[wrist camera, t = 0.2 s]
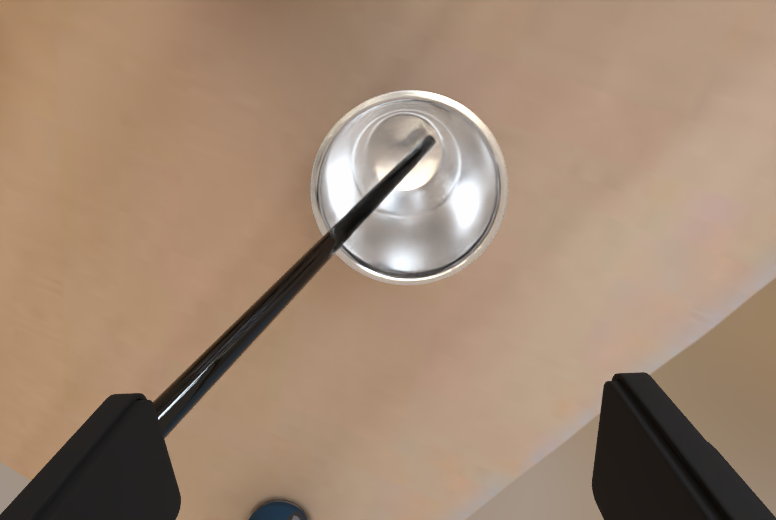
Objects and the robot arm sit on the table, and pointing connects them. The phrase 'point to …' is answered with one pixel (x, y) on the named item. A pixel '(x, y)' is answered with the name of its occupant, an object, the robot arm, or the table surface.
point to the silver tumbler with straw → (378, 215)
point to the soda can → (278, 511)
